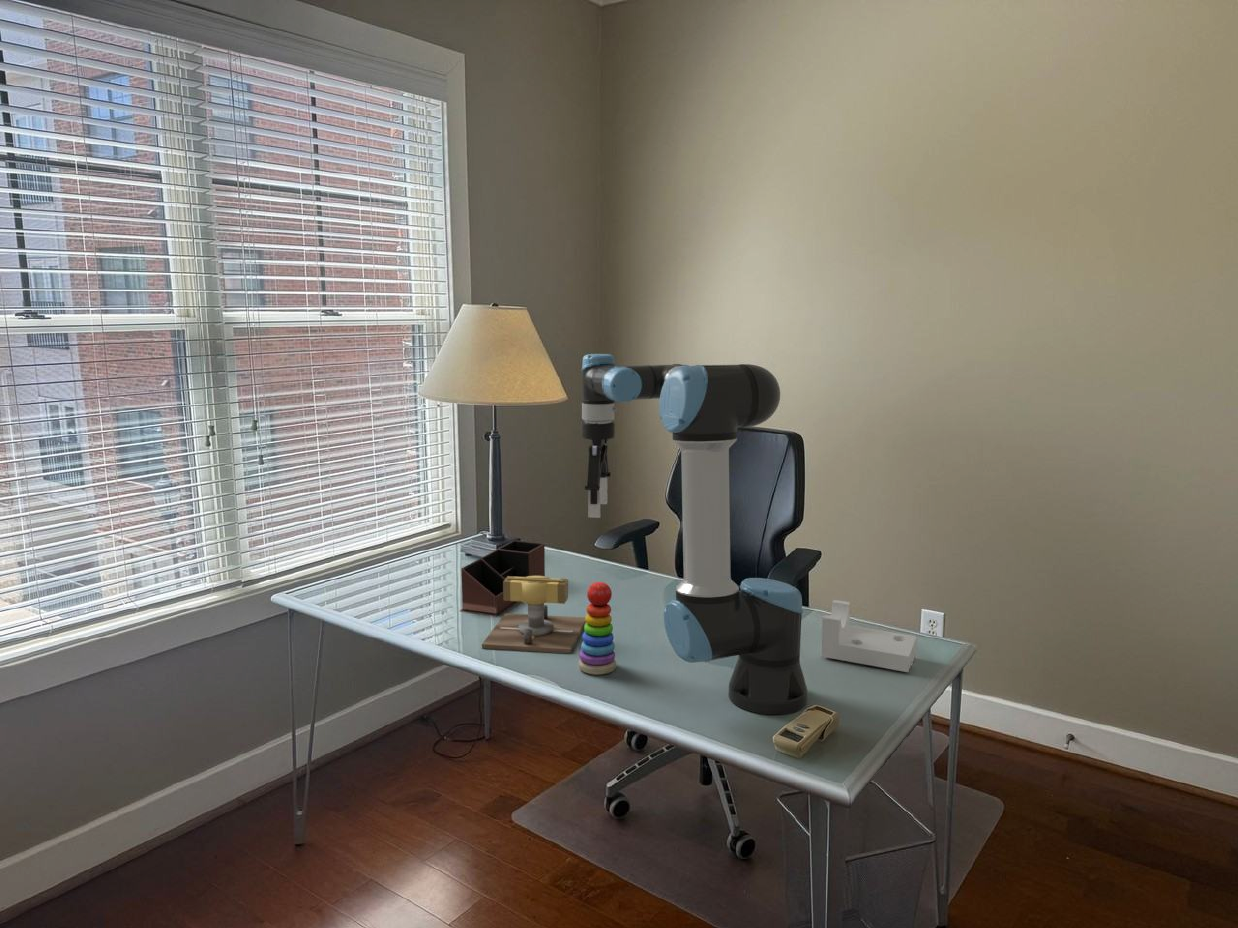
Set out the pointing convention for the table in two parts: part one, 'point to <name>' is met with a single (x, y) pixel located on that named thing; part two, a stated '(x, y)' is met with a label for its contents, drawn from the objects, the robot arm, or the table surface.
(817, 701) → the table surface
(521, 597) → the yellow block with ball
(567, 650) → the base
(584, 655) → the stacking toy
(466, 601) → the desk organizer
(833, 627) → the white mounting bracket
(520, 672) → the table surface
